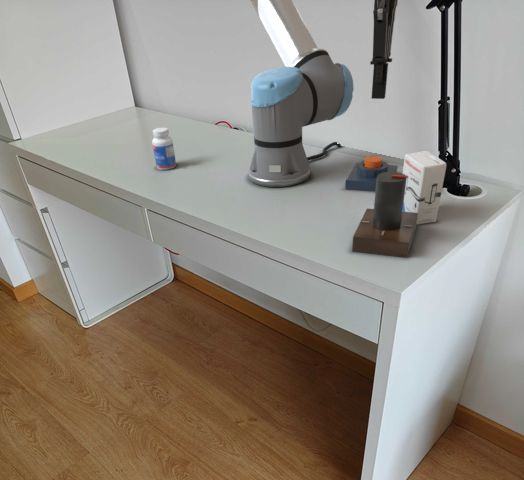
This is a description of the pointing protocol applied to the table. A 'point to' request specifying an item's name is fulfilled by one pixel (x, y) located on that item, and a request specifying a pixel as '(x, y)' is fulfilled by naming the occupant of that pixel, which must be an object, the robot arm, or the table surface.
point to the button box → (366, 176)
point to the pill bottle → (163, 149)
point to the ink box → (423, 185)
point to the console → (384, 236)
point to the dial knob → (389, 200)
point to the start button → (373, 162)
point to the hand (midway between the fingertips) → (378, 97)
